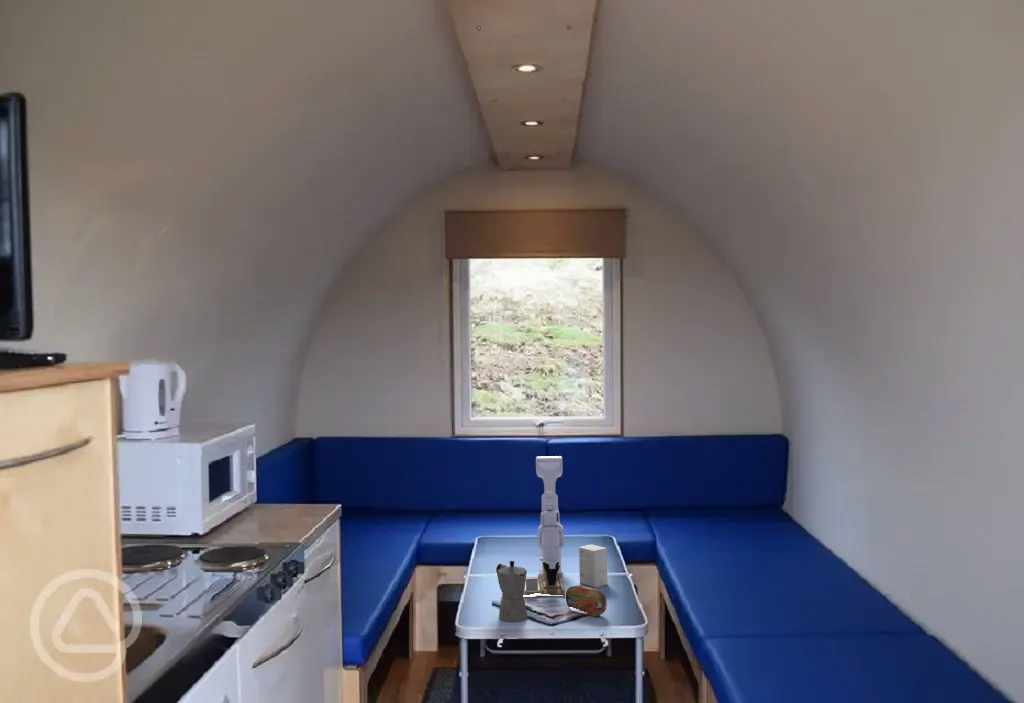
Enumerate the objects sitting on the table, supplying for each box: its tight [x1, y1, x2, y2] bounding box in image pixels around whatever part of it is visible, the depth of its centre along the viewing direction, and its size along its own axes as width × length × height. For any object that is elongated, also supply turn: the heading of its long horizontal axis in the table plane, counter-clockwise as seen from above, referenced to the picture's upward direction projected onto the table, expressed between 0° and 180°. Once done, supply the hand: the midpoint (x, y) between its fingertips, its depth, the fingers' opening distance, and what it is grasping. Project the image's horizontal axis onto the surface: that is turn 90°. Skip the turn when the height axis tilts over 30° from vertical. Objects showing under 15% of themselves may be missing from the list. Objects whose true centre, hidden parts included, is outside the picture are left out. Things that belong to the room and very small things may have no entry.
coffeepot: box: [495, 560, 528, 623], centre depth 278 cm, size 15×9×18 cm, turn 33°
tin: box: [564, 585, 608, 618], centre depth 280 cm, size 15×3×8 cm, turn 47°
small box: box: [578, 543, 608, 589], centre depth 311 cm, size 8×6×13 cm
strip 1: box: [524, 576, 540, 593], centre depth 307 cm, size 15×5×5 cm, turn 1°
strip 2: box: [541, 574, 560, 588], centre depth 311 cm, size 15×5×5 cm, turn 1°
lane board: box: [523, 573, 566, 597], centre depth 307 cm, size 20×15×2 cm
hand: (551, 583), depth 305 cm, fingers closed on strip 2, 2 cm apart
